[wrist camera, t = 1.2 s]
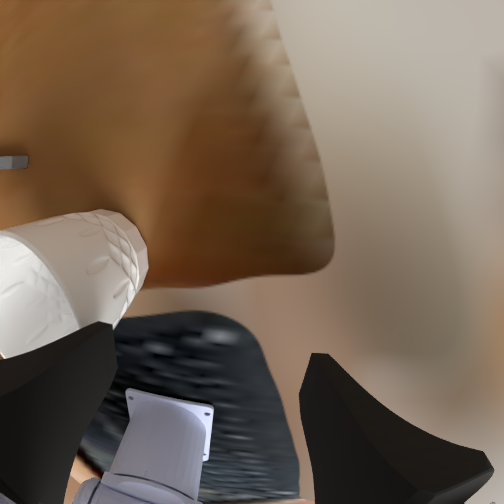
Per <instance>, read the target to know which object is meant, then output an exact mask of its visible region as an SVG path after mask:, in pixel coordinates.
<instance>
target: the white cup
mask: <svg viewBox="0 0 504 504" xmlns="http://www.w3.org/2000/svg"><path fill="white" fill-rule="evenodd" d="M148 268H149V267H148V256H147V246H146V244H145V242H144V240H143V238H142V237H141V235H140V233H139V231H138V229H137V227H136V226H135V225H134V224H133V223H131V222H130V221H129V220H128V219H127V218H125V217H124V216H123V215H122V214H121V213H118V212H113V211H108V210H104V209H98V210H94V211H90V212H83V213H71V214H66V215H60V216H54V217H50V218H46V219H41V220H37V221H33V222H29V223H25V224H21V225H18V226H14V227H10V228H6V229H2V230H0V354H1V355H2V357H3V358H4V359H6V358H10V357H14V356H17V355H20V354H23V353H26V352H29V351H32V350H35V349H37V348H39V347H42V346H44V345H46V344H49V343H51V342H54V341H56V340H58V339H60V338H62V337H64V336H66V335H68V334H71V333H73V332H75V331H77V330H79V329H81V328H83V327H85V326H87V325H90V324H92V323H94V322H97V321H101V322H105V323H109V324H113V330H114V329H115V327H116V326H117V324H118V323H119V321H120V319H121V317H122V316H123V314H124V313H125V311H126V310H127V309H128V307H129V305H130V303H131V302H132V300H133V298H134V296H135V295H136V294H137V292H138V291H139V290H140V288H141V287H142V285H143V282H144V279H145V276H146V274H147V271H148Z"/></svg>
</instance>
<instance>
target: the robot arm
mask: <svg viewBox="0 0 504 504" xmlns="http://www.w3.org/2000/svg"><path fill="white" fill-rule="evenodd" d="M117 369H118V365H117V358H116V350H115V342H114V333H113V324H109V323H105V322H101V321H97V322H94V323H92V324H90V325H87V326H85V327H83V328H81V329H79V330H77V331H75V332H73V333H71V334H68V335H66V336H64V337H62V338H60V339H58V340H56V341H54V342H51V343H49V344H46V345H44V346H42V347H39V348H37V349H35V350H32V351H29V352H26V353H23V354H20V355H17V356H14V357H10V358H6V359H2V360H0V504H63V503H64V497H65V492H66V488H67V483H68V479H69V475H70V472H71V469H72V465H73V462H74V459H75V456H76V453H77V451H78V448H79V445H80V442H81V440H82V437H83V435H84V433H85V431H86V429H87V427H88V426H89V424H90V422H91V420H92V418H93V417H94V415H95V413H96V411H97V410H98V408H99V406H100V404H101V403H102V401H103V399H104V397H105V396H106V394H107V392H108V390H109V389H110V386H111V384H112V381H113V379H114V376H115V374H116V371H117ZM125 393H126V399H127V405H128V411H129V416H130V422H129V424H128V427H127V429H126V431H125V434H124V436H123V439H122V441H121V443H120V446H119V448H118V451H117V453H116V456H115V458H114V461H113V463H112V466H111V468H110V471H109V472H106V471H105V472H104V475H103V477H102V480H99V479H97V478H91V479H89V480H86V481H84V482H83V483H82V484H81V486H80V487H79V489H78V491H77V493H76V495H75V497H74V500H73V503H72V504H203V503H202V502H198V501H197V498H198V490H199V483H200V476H201V469H202V461H207V460H208V457H209V447H210V438H211V429H212V420H213V411H214V408H213V406H211V405H209V404H203V403H197V402H191V401H186V400H180V399H175V398H170V397H165V396H161V395H156V394H152V393H148V392H144V391H140V390H136V389H132V388H128V389H127V390H126V392H125ZM299 403H300V414H301V421H302V425H303V430H304V435H305V439H306V443H307V447H308V452H309V456H310V461H311V466H312V472H313V479H314V492H315V504H464V502H465V501H467V500H468V499H469V498H470V497H471V496H472V495H474V494H475V493H476V492H477V491H478V490H479V489H480V488H481V487H482V486H483V485H484V484H485V483H486V482H487V481H488V480H489V479H490V478H491V477H492V475H493V473H494V468H493V466H492V465H491V463H490V461H489V460H488V458H487V456H486V455H485V453H484V452H483V451H480V450H475V449H471V448H468V447H464V446H460V445H457V444H454V443H451V442H448V441H446V440H443V439H440V438H438V437H436V436H434V435H431V434H429V433H427V432H425V431H423V430H421V429H420V428H418V427H416V426H414V425H412V424H410V423H409V422H407V421H405V420H404V419H402V418H401V417H399V416H398V415H396V414H395V413H393V412H392V411H390V410H389V409H388V408H386V407H385V406H384V405H383V404H381V403H380V402H379V401H378V400H376V399H375V398H374V397H373V396H372V395H370V394H369V393H368V392H367V391H366V390H365V389H364V388H362V386H360V385H359V384H358V383H357V382H356V381H355V380H354V379H353V378H352V377H351V376H350V375H349V374H348V373H347V372H346V371H345V370H344V369H343V368H342V367H341V366H340V365H339V364H338V363H337V362H336V361H335V360H334V359H333V358H332V357H331V356H330V355H329V354H323V353H312V354H311V357H310V361H309V364H308V367H307V370H306V373H305V377H304V380H303V383H302V386H301V389H300V392H299ZM206 412H208V413H206ZM490 504H495V502H492V503H490Z"/></svg>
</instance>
